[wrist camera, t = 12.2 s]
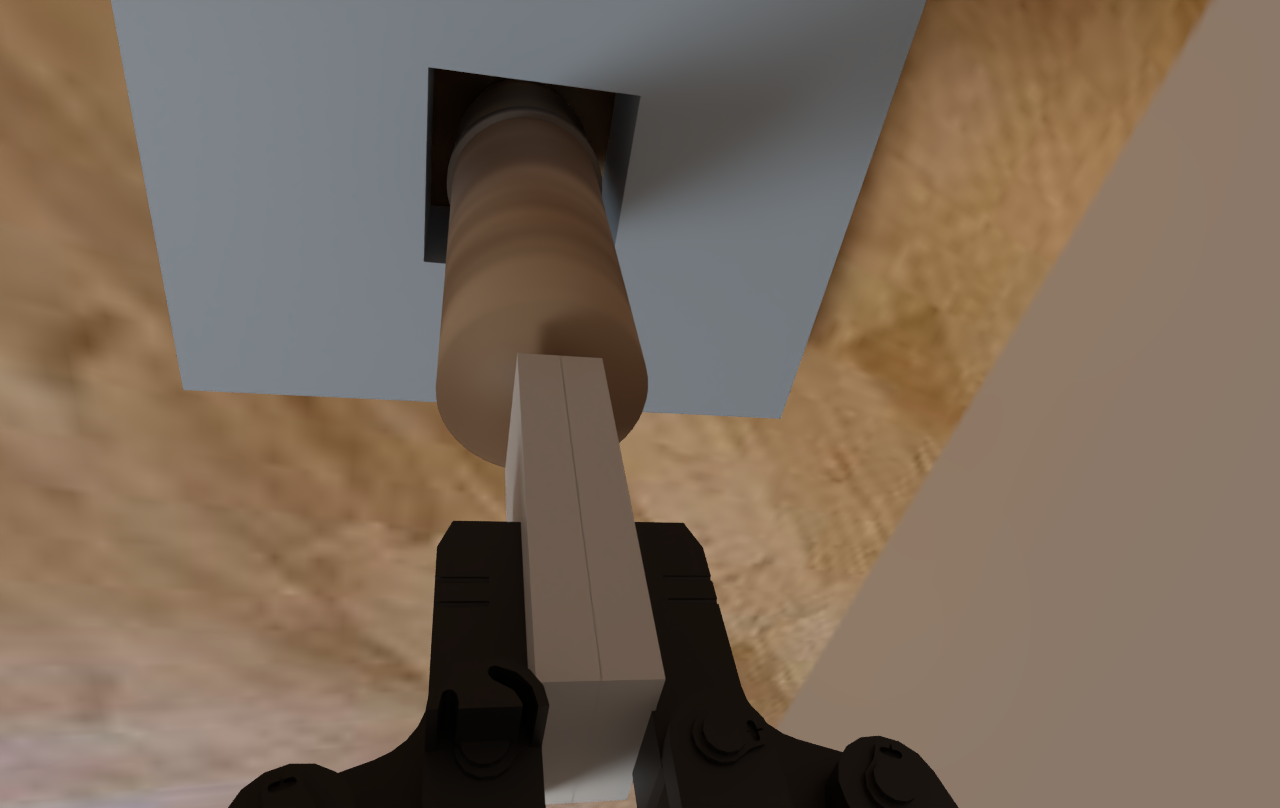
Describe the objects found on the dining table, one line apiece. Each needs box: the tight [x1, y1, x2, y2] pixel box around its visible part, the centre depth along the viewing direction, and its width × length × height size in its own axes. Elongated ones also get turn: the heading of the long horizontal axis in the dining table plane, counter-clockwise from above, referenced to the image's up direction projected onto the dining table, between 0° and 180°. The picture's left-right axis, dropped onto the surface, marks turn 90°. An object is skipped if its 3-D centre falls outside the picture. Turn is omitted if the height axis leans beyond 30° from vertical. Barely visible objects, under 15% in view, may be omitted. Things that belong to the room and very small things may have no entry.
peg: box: [436, 79, 648, 467], centre depth 21 cm, size 4×4×14 cm
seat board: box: [111, 0, 927, 419], centre depth 25 cm, size 16×20×4 cm
